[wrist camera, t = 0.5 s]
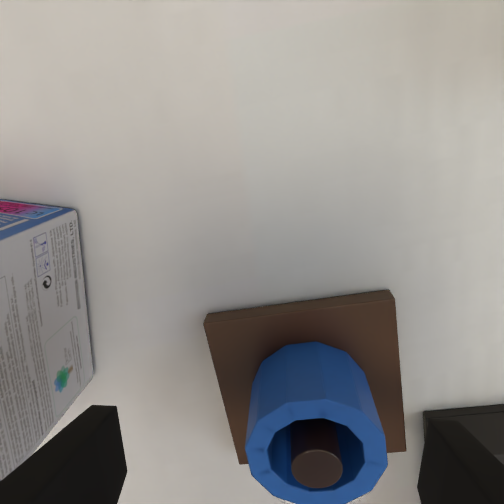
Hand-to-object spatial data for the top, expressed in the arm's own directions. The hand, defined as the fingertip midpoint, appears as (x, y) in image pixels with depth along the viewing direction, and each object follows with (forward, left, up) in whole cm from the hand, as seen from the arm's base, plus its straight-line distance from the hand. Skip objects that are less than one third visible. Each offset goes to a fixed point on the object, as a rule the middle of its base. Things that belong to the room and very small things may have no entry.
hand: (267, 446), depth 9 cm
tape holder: (-6, -1, -10) cm, 12 cm away
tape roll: (-6, -1, -9) cm, 11 cm away
